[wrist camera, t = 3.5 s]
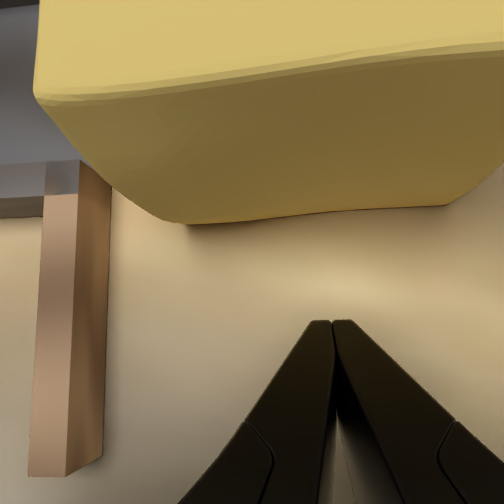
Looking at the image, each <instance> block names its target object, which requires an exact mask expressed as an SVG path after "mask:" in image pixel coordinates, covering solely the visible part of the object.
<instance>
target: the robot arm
mask: <svg viewBox="0 0 504 504" xmlns="http://www.w3.org/2000/svg"><path fill="white" fill-rule="evenodd" d="M337 420H338V426H339V431H340V436H341V440H342V445H343V449H344V454H345V458H346V463H347V467H348V472H349V476H350V481H351V485H352V489H353V494H354V498H355V503H356V504H504V462H502V461H501V460H500V459H499V458H498V457H497V456H496V455H494V454H493V453H492V452H491V451H490V450H489V449H488V448H487V447H486V446H485V445H483V444H482V443H481V442H480V441H479V440H478V439H477V438H476V437H475V436H473V435H472V434H471V433H470V432H469V431H468V430H467V429H466V428H465V427H464V426H463V425H462V424H461V423H460V422H459V421H456V420H455V418H454V417H453V416H452V415H451V414H450V413H449V412H448V411H446V410H445V409H444V408H443V407H442V406H441V405H440V404H439V403H438V402H437V401H436V400H435V399H434V398H433V397H432V396H431V395H430V394H429V393H428V392H427V391H426V390H425V389H424V388H422V387H421V386H420V385H419V384H418V383H417V382H416V381H415V380H414V379H413V378H412V377H411V376H410V375H409V374H408V373H407V372H406V371H405V370H404V369H403V368H402V367H401V366H400V365H399V364H397V363H396V362H395V361H394V360H393V359H392V358H391V357H390V356H389V355H388V354H387V353H386V352H385V351H384V350H383V349H382V348H381V347H380V346H379V345H378V344H377V343H376V342H375V341H374V340H372V339H371V338H370V337H369V336H368V335H367V334H366V333H365V332H364V331H363V330H362V329H361V328H360V327H359V326H358V325H357V324H356V323H355V322H354V321H352V320H350V319H348V320H334V321H332V324H331V322H330V321H329V320H313V321H311V322H310V323H309V325H308V326H307V328H306V329H305V331H304V332H303V334H302V335H301V337H300V338H299V340H298V341H297V343H296V344H295V346H294V347H293V349H292V350H291V352H290V353H289V355H288V356H287V358H286V359H285V361H284V362H283V363H282V365H281V366H280V368H279V369H278V371H277V372H276V374H275V375H274V377H273V378H272V380H271V381H270V383H269V384H268V386H267V387H266V389H265V390H264V392H263V393H262V395H261V396H260V398H259V399H258V401H257V402H256V404H255V405H254V407H253V408H252V409H251V411H250V412H249V414H248V415H247V417H246V418H245V422H242V423H241V425H240V426H239V428H238V429H237V431H236V432H235V434H234V435H233V437H232V438H231V440H230V441H229V442H228V444H227V445H226V446H225V448H224V449H223V450H222V452H221V453H220V455H219V456H218V457H217V459H216V460H215V461H214V462H213V463H212V464H211V466H210V467H209V468H208V469H207V470H206V472H205V473H204V474H203V475H202V476H201V478H200V479H199V480H198V481H197V482H196V483H195V485H194V486H193V487H192V488H191V489H190V490H189V491H188V492H187V494H186V495H185V496H184V497H183V498H182V499H181V500H180V501H179V503H178V504H332V495H333V478H334V462H335V446H336V427H337Z"/></svg>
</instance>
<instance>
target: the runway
mask: <svg viewBox="0 0 504 504" xmlns="http://www.w3.org/2000/svg"><path fill="white" fill-rule="evenodd" d="M39 4H40V0H0V219H1V218H19V217H38V216H43V226H42V243H41V260H40V277H39V294H38V310H37V327H36V344H35V361H34V378H33V395H32V412H31V429H30V446H29V463H28V477H66V476H68V475H70V474H71V473H73V472H75V471H77V470H78V469H80V468H82V467H83V466H85V465H87V464H88V463H90V462H92V461H94V460H95V459H97V458H99V457H100V456H102V447H103V418H104V388H105V358H106V329H107V299H108V269H109V239H110V210H111V185H110V184H109V183H107V182H106V181H105V180H104V179H103V178H102V177H101V176H100V175H99V174H98V173H97V172H96V171H95V170H94V169H93V168H92V167H91V166H90V164H89V163H88V162H87V161H86V160H85V159H84V158H83V156H82V155H81V154H80V153H79V152H78V151H77V149H76V148H75V147H74V146H73V145H72V144H71V142H70V141H69V140H68V139H67V137H66V136H65V135H64V134H63V133H62V131H61V130H60V129H59V128H58V126H57V125H56V124H55V123H54V122H53V120H52V119H51V118H50V117H49V116H48V114H47V113H46V112H45V111H44V109H43V108H42V107H41V106H40V105H39V103H38V102H37V101H36V98H35V96H34V93H33V80H34V69H35V59H36V48H37V36H38V20H39Z"/></svg>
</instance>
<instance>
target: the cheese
mask: <svg viewBox="0 0 504 504" xmlns="http://www.w3.org/2000/svg"><path fill="white" fill-rule="evenodd" d="M33 93H34V96H35V98H36V101H37V102H38V103H39V105H40V106H41V107H42V108H43V109H44V111H45V112H46V113H47V114H48V116H49V117H50V118H51V119H52V120H53V122H54V123H55V124H56V125H57V126H58V128H59V129H60V130H61V131H62V133H63V134H64V135H65V136H66V137H67V139H68V140H69V141H70V142H71V144H72V145H73V146H74V147H75V148H76V149H77V151H78V152H79V153H80V154H81V155H82V156H83V158H84V159H85V160H86V161H87V162H88V163H89V164H90V166H91V167H92V168H93V169H94V170H95V171H96V172H97V173H98V174H99V175H100V176H101V177H102V178H103V179H104V180H105V181H106V182H107V183H109V184H110V185H111V186H112V187H113V188H115V189H116V190H117V191H118V192H120V193H121V194H122V195H124V196H125V197H126V198H128V199H129V200H131V201H132V202H133V203H135V204H136V205H138V206H139V207H141V208H142V209H144V210H145V211H147V212H149V213H150V214H152V215H154V216H156V217H158V218H159V219H162V220H165V221H168V222H173V223H181V224H208V223H226V222H239V221H250V220H258V219H267V218H276V217H284V216H292V215H301V214H309V213H318V212H328V211H342V210H357V209H372V208H393V207H414V206H436V205H446V204H448V203H451V202H452V201H454V200H456V199H457V198H459V197H461V196H463V195H464V194H466V193H467V192H469V191H470V190H471V189H473V188H474V187H475V186H476V185H478V184H479V183H481V182H482V181H483V180H484V179H486V178H487V177H488V176H489V175H490V174H491V173H492V172H493V171H494V170H496V169H497V168H498V167H499V166H500V165H501V164H502V163H503V162H504V0H40V4H39V20H38V36H37V48H36V59H35V69H34V80H33Z"/></svg>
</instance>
